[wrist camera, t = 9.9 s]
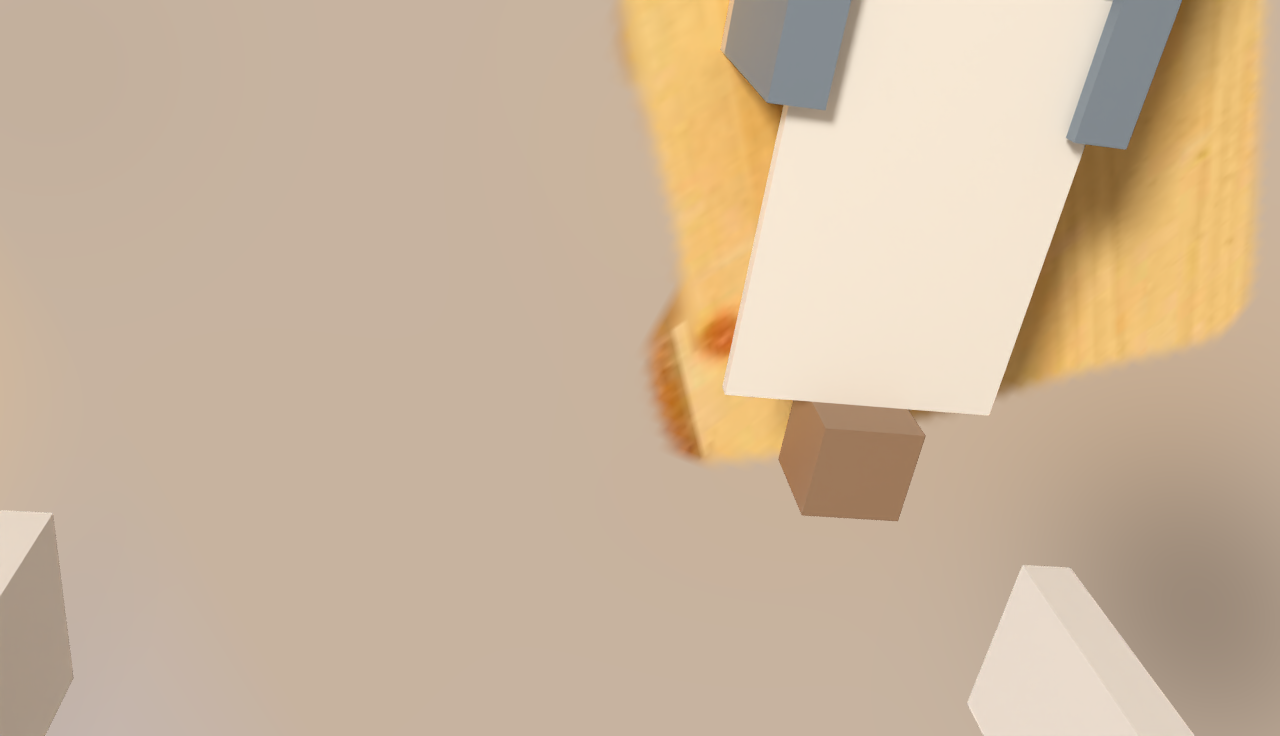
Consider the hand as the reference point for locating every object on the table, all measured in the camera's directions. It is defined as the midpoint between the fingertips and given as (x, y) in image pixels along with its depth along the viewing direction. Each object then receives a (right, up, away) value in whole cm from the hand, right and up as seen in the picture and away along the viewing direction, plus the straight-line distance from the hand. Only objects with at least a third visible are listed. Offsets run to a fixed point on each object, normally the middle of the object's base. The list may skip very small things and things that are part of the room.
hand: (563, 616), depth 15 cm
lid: (+10, +8, +26) cm, 29 cm away
